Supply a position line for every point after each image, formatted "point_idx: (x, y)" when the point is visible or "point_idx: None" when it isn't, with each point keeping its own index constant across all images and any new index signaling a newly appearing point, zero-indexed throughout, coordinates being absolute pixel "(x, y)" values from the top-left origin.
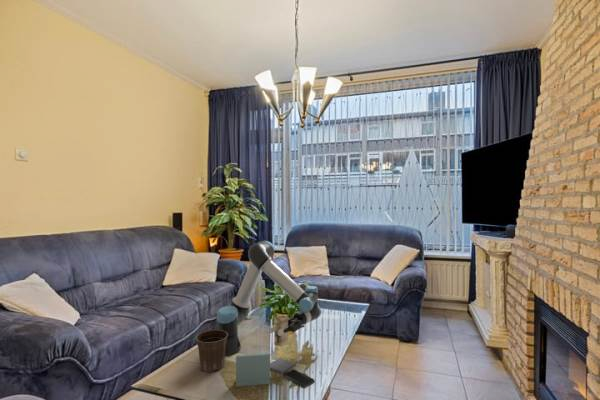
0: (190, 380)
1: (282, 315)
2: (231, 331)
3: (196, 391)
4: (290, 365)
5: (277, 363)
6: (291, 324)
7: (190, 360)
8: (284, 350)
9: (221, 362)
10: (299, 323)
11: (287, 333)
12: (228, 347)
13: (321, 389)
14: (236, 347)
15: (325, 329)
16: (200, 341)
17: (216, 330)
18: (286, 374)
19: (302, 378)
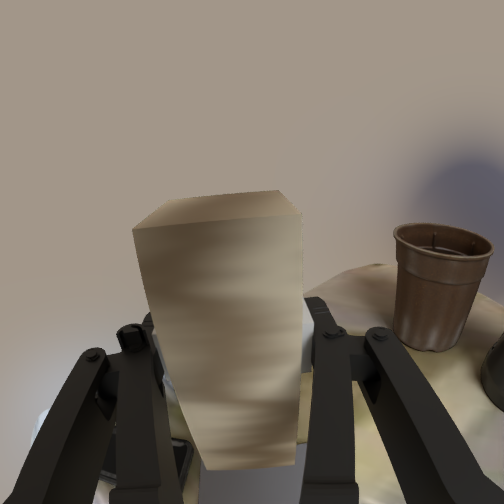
0: (379, 291)
1: (242, 214)
2: None
3: (327, 288)
4: None
5: (284, 488)
6: (136, 403)
7: (473, 307)
8: None
9: (401, 321)
10: (35, 480)
11: (187, 414)
12: (494, 354)
13: (38, 431)
14: (501, 383)
15: None
16: (414, 223)
17: (490, 250)
18: (180, 452)
19: (106, 456)
